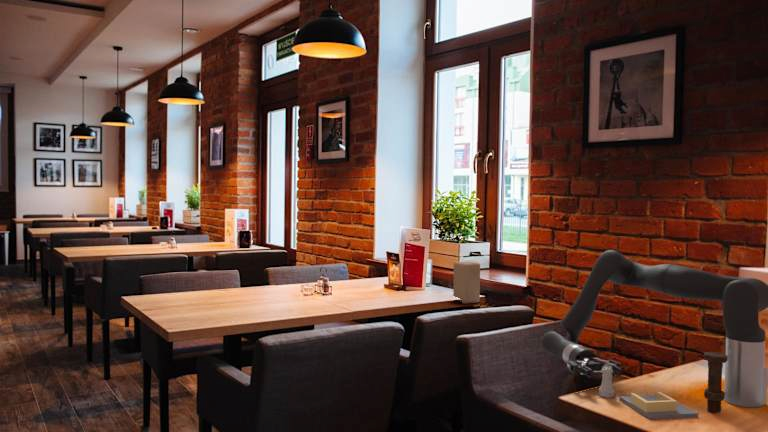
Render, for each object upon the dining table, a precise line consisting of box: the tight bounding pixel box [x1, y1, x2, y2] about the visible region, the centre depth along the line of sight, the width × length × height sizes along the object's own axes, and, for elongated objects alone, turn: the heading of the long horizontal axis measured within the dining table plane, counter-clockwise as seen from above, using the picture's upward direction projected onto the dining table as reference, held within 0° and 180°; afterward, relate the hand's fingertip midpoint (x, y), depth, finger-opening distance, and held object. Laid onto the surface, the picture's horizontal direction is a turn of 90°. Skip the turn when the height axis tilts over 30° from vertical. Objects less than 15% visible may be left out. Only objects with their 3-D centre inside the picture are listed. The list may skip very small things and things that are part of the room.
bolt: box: [703, 351, 728, 414], centre depth 166 cm, size 6×5×15 cm
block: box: [452, 260, 481, 304], centre depth 327 cm, size 10×10×20 cm
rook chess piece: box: [598, 366, 616, 399], centre depth 179 cm, size 4×4×8 cm
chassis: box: [618, 391, 699, 421], centre depth 169 cm, size 13×15×4 cm
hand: (605, 373), depth 179 cm, fingers open, 8 cm apart
